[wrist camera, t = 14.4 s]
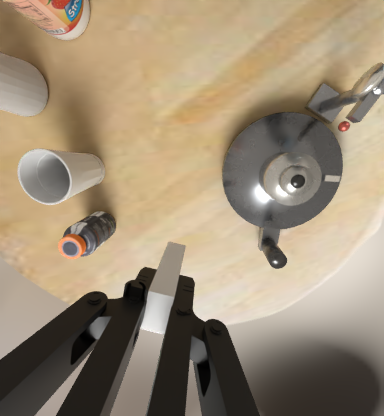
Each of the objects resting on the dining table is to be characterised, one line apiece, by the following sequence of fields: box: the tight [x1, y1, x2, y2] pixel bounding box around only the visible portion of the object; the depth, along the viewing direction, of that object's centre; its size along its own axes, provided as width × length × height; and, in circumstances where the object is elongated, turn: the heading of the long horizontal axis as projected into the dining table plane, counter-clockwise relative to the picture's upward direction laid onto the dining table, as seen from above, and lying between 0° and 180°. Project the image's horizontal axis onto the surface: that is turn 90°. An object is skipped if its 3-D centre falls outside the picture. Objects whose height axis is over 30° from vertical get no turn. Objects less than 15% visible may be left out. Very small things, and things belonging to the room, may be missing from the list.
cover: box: [259, 152, 322, 206], centre depth 33 cm, size 8×8×7 cm
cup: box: [18, 149, 105, 205], centre depth 36 cm, size 8×8×12 cm
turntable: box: [222, 112, 343, 269], centre depth 36 cm, size 25×20×7 cm
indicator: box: [305, 63, 384, 132], centre depth 30 cm, size 8×5×14 cm, turn 149°
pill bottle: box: [58, 211, 116, 259], centre depth 39 cm, size 6×6×11 cm
